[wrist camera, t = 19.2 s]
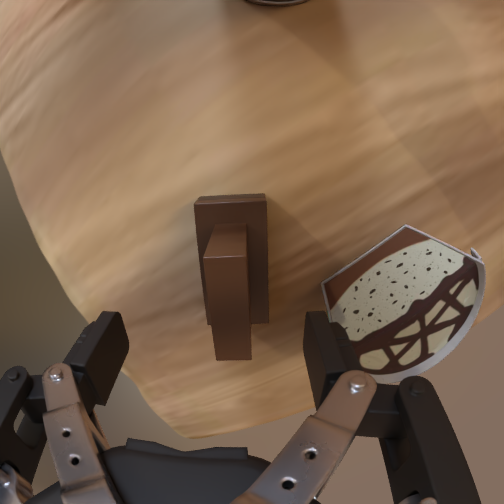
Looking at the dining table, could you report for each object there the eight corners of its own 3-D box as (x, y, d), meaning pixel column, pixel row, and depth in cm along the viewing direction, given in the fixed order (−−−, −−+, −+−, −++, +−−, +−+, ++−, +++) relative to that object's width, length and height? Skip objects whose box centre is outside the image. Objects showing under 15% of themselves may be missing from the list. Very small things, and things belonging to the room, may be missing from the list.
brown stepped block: (199, 196, 22) (172, 230, 14) (264, 193, 22) (273, 225, 14) (211, 307, 26) (197, 376, 18) (266, 306, 26) (274, 375, 18)
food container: (337, 334, 28) (366, 412, 18) (306, 292, 26) (332, 371, 16) (437, 265, 25) (498, 319, 16) (417, 215, 23) (490, 259, 14)
